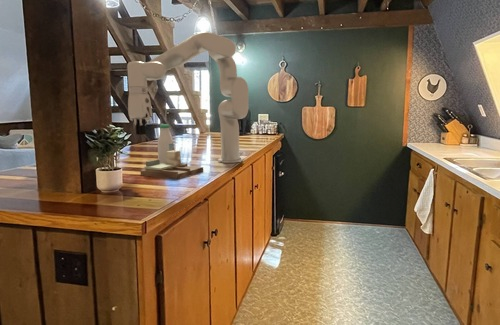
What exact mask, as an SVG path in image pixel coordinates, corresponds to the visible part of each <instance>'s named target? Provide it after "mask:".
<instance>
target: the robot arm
mask: <svg viewBox="0 0 500 325" xmlns="http://www.w3.org/2000/svg"><path fill="white" fill-rule="evenodd" d="M236 51H237V49H236V44H235V43H234V41H232V39H230V38H227V37H225V36H221V35H219V34H216V33H213V32H209V31H201V32H198V33H195V34H193V35H191V36H189V37H188V38H186V39H184V40H183V41H181V42H180V43H178V44H176V45H174V46H173V47H171V48H170V49H168V50H166V51H165V52H163V53H161V54H160V55H158V56H156V57H154V58H152V59H150V61H149V60H148V61H147V62H143V61H129V62H128V63H127V65H126V66H127V67H126V68H127V80H128V81H127V83H128V98H127V99H128V100H127V106H128V107H127V110H128V111H127V112H128V117H129V120H130V121H131V122H133V124H134V126H135V134H136V135H137V136H138V135H139V136H142V135H146V134H147V133H146V126H147V123H148V122H150V121H151V118H152V117H153V110H152V101H151V98H150V94H148V92H149V89H148V81H158V80H161V79H163V78H164V77H165V75H166V73H167V72H168V71H169V70H171V69H174V68H177V67H180V66H183V65H184V64H187V63H189V61H191V60H193V59H194V58H196V57H197V56H198V55H200V54H202V53H205V52H208V56H210V58H211V59H212V60H214V61H215V62H216V64H217V65H218V69H219V87H220V93H221V95H223V96H224V97H225V98H226V97H227V98H231V99H224V100H223V101H221V102H220V103H219V104H218V108H217V113H218V117H219V122H220V123H219V124H220V152H221V153H220V156H221V157H220V158H218V159H217V160H218V162H219V163H223V164H235V163H241V162H243V158H242V157H241V156H243V155H244V153H243V152H242V151H240V125H239V121H238V120H243V119H244V118H246V117H247V115H248V113H249V108H250V107H249V104H250V103H249V87H248V86H249V85H248V82H247V81H246V79H244V78H243V77H241V76H238V71H237V64H236V62H235V60H234V59H233V56H234V54H235V53H236Z"/></svg>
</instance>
